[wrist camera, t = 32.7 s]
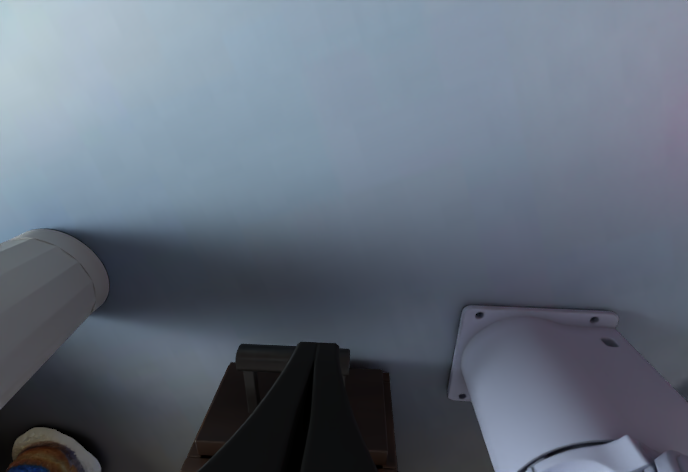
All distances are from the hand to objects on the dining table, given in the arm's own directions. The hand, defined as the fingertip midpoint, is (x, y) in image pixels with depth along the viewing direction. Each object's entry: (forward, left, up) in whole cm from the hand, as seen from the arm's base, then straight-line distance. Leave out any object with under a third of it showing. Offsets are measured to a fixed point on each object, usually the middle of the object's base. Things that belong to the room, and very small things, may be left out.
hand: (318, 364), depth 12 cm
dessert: (+24, +22, -10) cm, 34 cm away
